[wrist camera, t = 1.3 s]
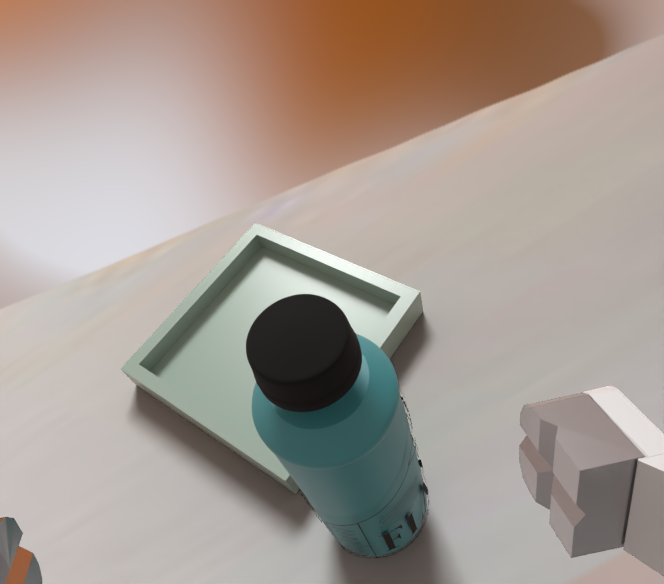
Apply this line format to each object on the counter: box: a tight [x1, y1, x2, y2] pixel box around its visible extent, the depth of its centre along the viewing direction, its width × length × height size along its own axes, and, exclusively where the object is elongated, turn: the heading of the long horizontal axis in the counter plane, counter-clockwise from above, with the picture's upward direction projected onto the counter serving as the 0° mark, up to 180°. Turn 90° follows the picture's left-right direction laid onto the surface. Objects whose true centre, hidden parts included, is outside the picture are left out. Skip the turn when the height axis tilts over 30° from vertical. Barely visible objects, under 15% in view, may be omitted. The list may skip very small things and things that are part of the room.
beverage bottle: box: [246, 294, 429, 558], centre depth 29 cm, size 6×7×20 cm
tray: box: [121, 223, 423, 494], centre depth 44 cm, size 16×16×2 cm
